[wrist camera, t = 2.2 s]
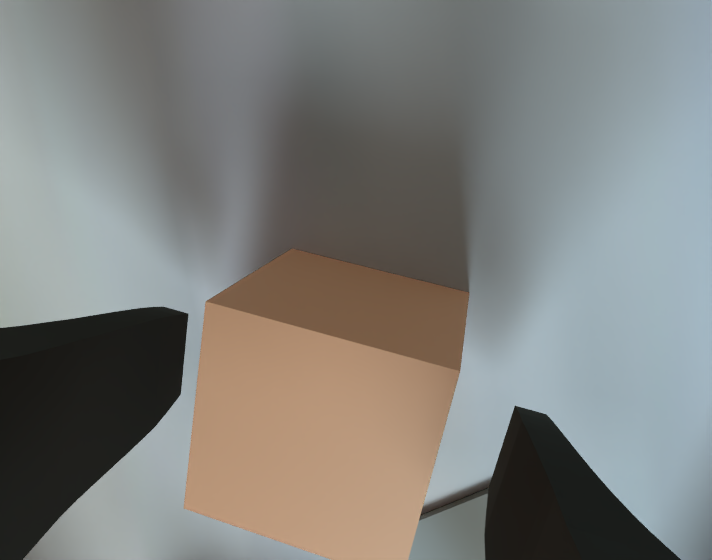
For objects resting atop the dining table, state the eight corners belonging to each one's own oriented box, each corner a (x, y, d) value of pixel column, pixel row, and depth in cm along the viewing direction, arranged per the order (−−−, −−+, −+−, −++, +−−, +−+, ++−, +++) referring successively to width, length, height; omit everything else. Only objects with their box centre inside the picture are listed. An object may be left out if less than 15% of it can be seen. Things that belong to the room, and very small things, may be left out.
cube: (269, 401, 15) (183, 507, 11) (293, 247, 14) (206, 301, 9) (427, 449, 14) (401, 583, 10) (469, 291, 13) (459, 371, 9)
